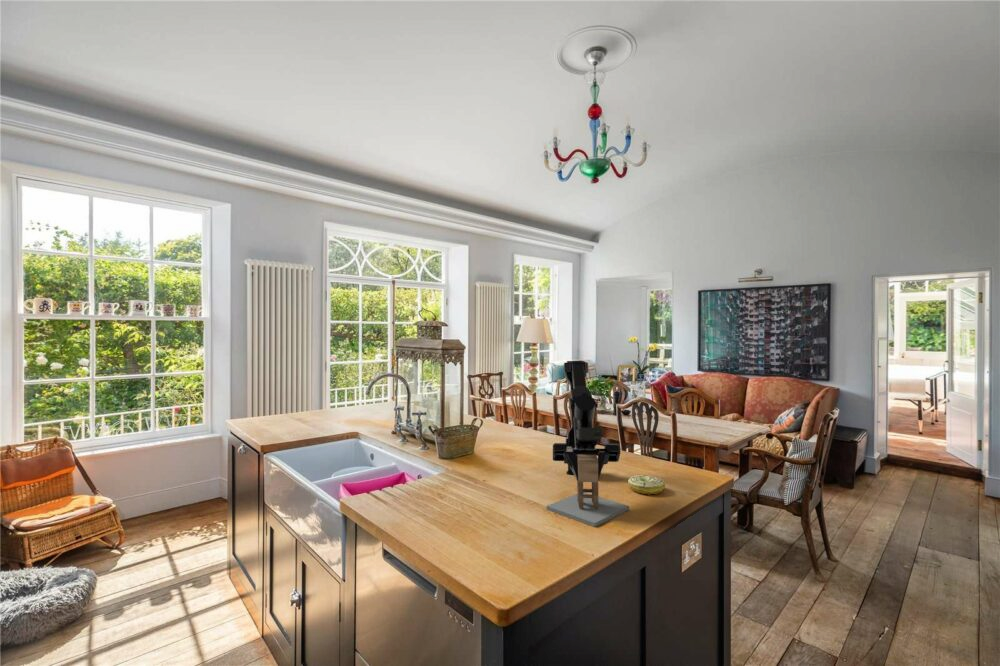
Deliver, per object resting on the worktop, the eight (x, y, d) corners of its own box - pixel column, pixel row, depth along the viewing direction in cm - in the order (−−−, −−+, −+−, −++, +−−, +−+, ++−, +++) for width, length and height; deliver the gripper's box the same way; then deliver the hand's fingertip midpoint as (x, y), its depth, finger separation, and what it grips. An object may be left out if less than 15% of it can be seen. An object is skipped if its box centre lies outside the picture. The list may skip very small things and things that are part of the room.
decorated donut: (648, 483, 149) (648, 471, 149) (672, 493, 139) (671, 481, 139) (621, 487, 146) (621, 475, 146) (643, 498, 136) (643, 485, 136)
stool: (577, 500, 130) (577, 454, 130) (596, 501, 129) (595, 454, 129) (578, 507, 125) (578, 459, 125) (598, 508, 124) (598, 459, 124)
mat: (546, 509, 127) (546, 505, 127) (582, 494, 138) (581, 491, 138) (594, 527, 116) (594, 523, 116) (629, 509, 127) (629, 506, 127)
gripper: (552, 415, 132) (553, 465, 121) (619, 415, 130) (626, 466, 119) (552, 436, 140) (553, 484, 129) (614, 436, 138) (621, 486, 127)
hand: (588, 480), depth 126 cm, fingers closed on stool, 5 cm apart
